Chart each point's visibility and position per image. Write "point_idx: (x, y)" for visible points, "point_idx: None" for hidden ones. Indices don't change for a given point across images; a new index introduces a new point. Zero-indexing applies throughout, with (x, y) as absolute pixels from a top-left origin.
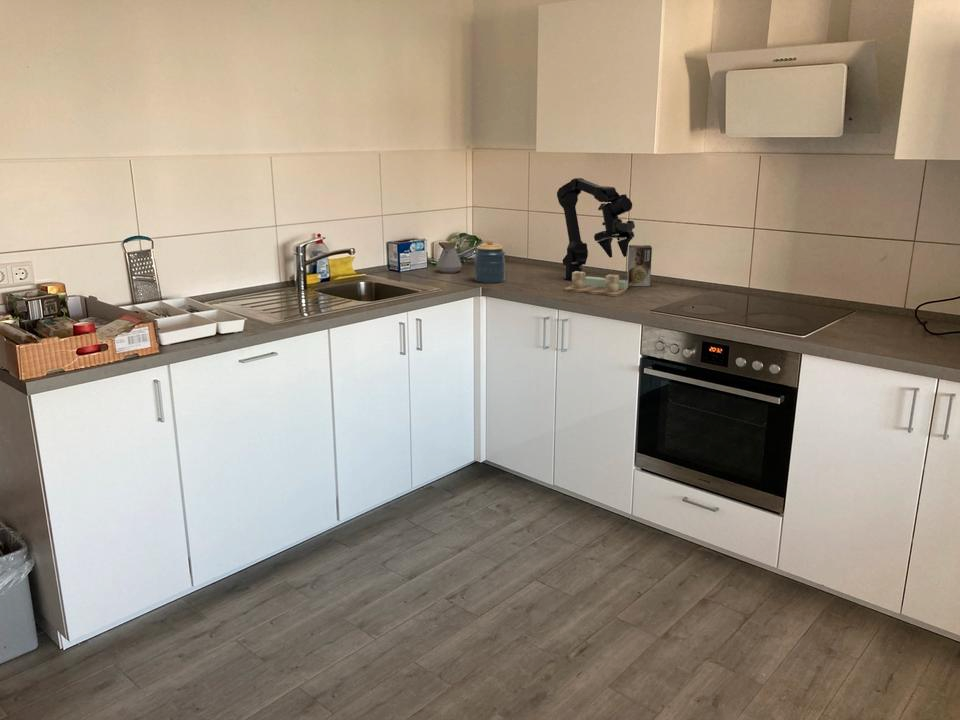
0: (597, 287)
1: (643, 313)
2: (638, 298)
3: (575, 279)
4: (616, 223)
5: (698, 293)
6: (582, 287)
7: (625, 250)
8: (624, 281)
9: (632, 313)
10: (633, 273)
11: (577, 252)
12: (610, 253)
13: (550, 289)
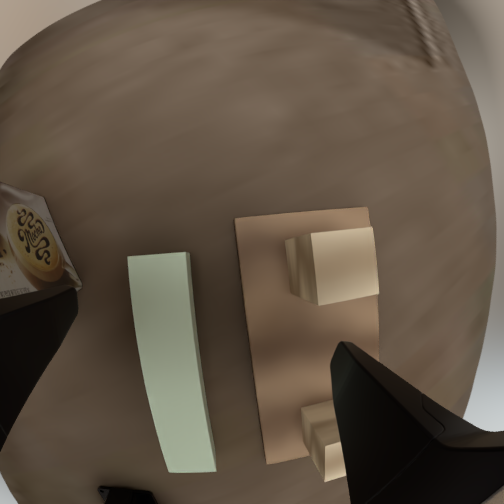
0: (278, 361)
1: (459, 79)
2: (328, 120)
3: None
4: None
5: (104, 21)
6: (329, 401)
7: (32, 313)
8: (161, 264)
9: (475, 101)
10: (40, 267)
11: None
12: (374, 366)
13: None
